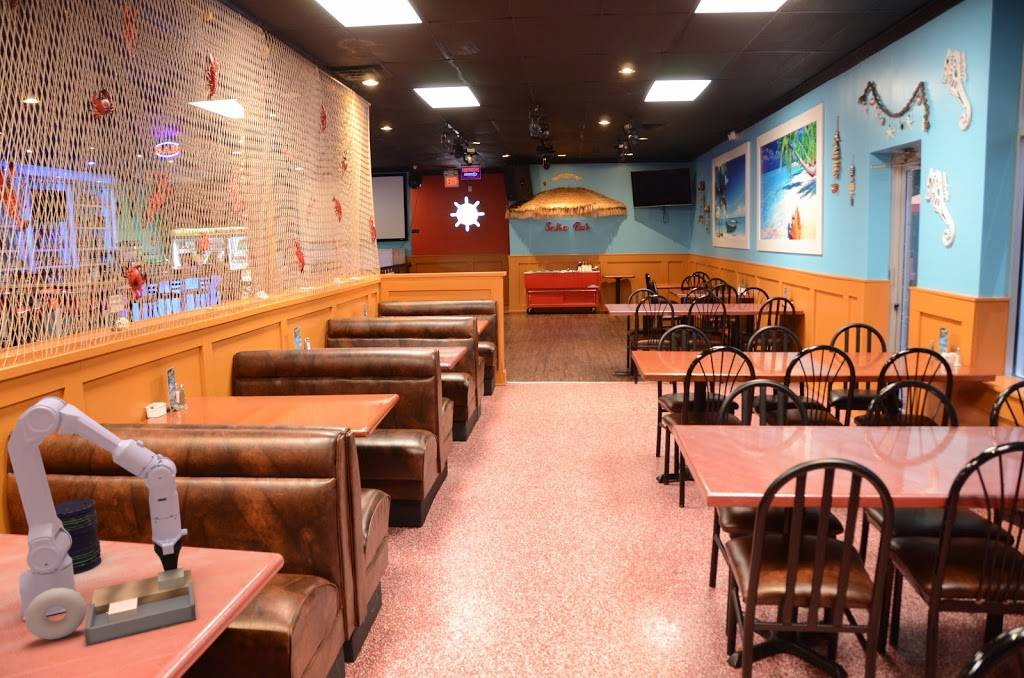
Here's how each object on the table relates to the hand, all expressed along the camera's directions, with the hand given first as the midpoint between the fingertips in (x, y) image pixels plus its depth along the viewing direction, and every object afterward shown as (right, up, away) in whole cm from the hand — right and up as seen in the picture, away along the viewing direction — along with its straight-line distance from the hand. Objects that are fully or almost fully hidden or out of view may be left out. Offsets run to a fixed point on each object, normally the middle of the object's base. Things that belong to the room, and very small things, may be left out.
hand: (171, 573), depth 157 cm
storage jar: (-28, -3, +12) cm, 31 cm away
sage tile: (+2, -1, -3) cm, 4 cm away
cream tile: (-3, -4, -13) cm, 14 cm away
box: (+1, -5, -14) cm, 15 cm away
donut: (-12, -6, -20) cm, 24 cm away
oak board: (-4, -4, -4) cm, 7 cm away
